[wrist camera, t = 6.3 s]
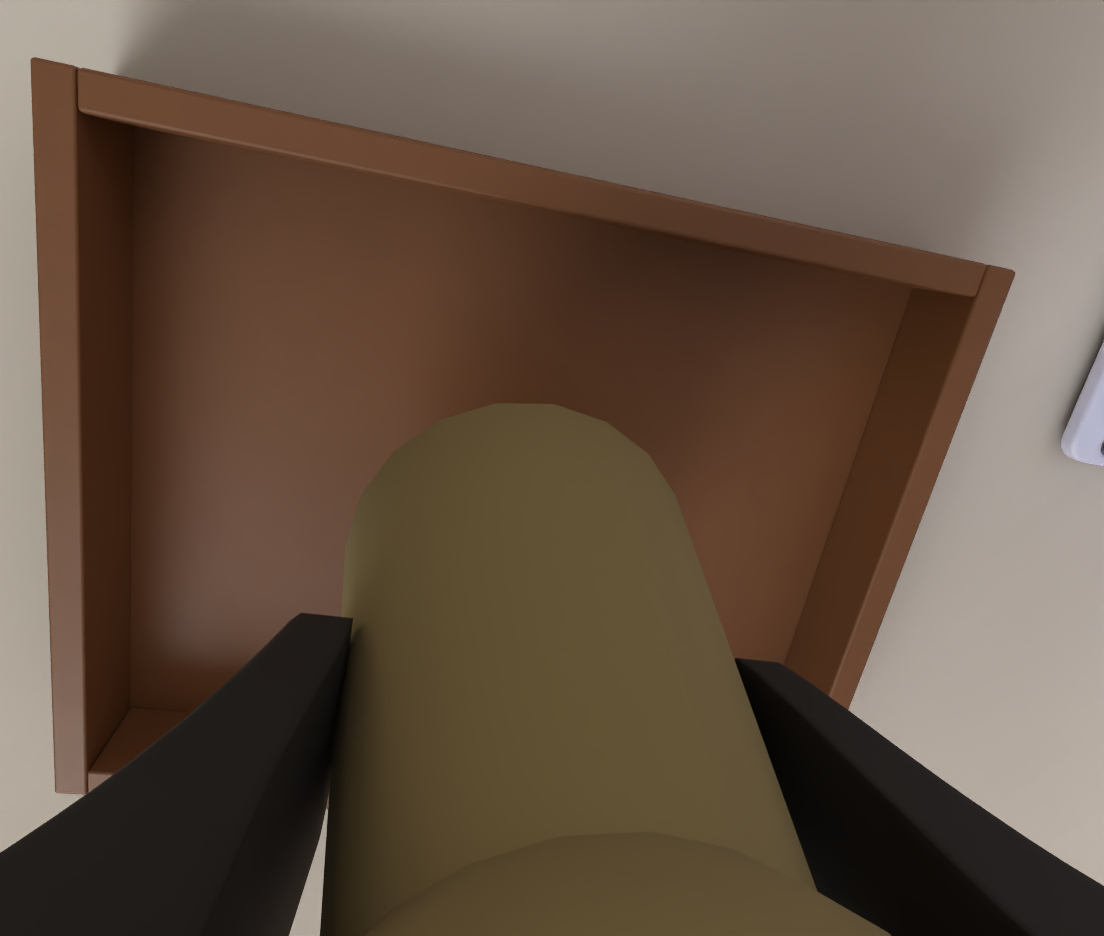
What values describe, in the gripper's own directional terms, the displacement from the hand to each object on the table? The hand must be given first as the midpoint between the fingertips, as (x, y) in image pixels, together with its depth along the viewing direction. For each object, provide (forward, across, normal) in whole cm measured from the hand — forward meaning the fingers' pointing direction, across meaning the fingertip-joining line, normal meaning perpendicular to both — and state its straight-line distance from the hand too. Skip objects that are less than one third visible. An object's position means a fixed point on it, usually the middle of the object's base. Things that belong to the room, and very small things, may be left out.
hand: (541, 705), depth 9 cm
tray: (+7, 0, 0) cm, 7 cm away
